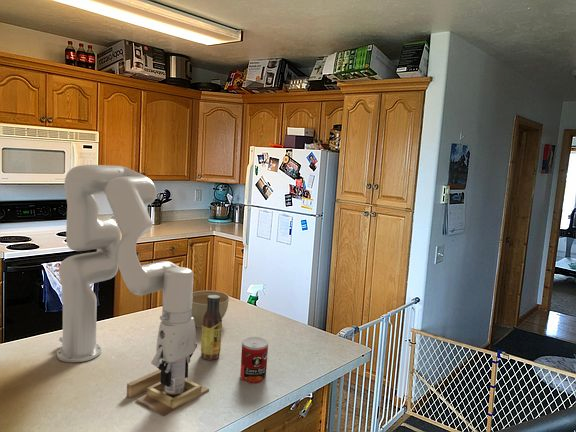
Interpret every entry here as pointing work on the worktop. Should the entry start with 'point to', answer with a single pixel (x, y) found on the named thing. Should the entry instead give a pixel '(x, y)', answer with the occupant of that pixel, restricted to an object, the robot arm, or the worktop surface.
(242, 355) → the canned food
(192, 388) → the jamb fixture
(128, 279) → the robot arm
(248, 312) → the worktop surface
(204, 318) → the sauce bottle
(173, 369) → the energy drink
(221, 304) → the planter bowl
